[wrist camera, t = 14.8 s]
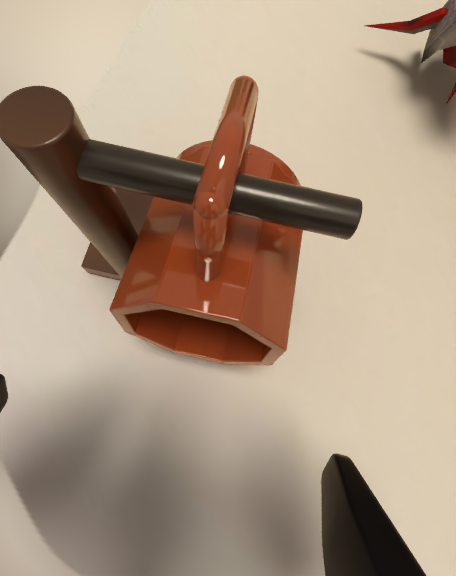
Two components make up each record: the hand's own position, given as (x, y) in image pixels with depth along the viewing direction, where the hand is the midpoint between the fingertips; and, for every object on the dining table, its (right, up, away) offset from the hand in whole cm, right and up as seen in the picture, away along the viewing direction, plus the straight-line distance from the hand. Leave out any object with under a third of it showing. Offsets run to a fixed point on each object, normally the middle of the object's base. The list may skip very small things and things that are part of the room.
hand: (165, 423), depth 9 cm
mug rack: (-1, +6, +13) cm, 15 cm away
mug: (+2, +9, +7) cm, 12 cm away
